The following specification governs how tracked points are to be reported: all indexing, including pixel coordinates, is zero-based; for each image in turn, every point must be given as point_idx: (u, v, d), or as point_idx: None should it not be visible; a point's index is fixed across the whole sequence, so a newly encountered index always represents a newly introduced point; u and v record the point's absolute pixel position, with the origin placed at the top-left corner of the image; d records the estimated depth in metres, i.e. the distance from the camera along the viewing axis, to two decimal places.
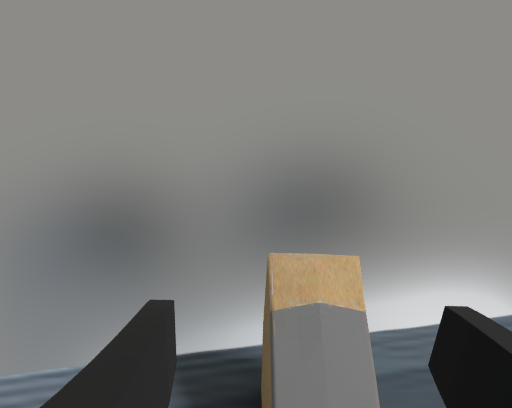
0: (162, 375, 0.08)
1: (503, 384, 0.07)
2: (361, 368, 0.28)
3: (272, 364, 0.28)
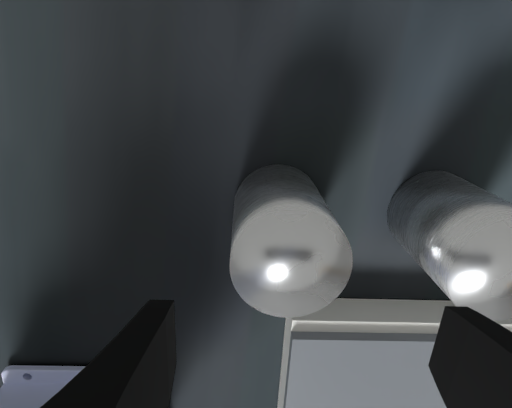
0: (162, 375, 0.08)
1: (503, 384, 0.07)
2: None
3: None
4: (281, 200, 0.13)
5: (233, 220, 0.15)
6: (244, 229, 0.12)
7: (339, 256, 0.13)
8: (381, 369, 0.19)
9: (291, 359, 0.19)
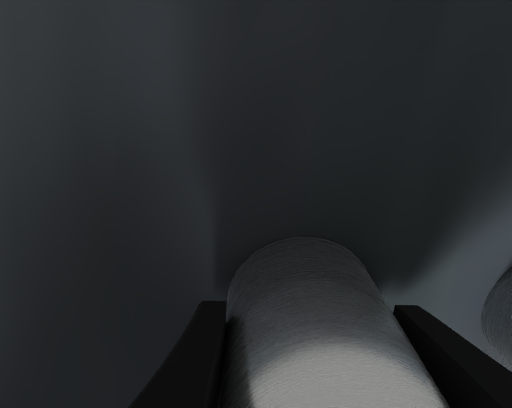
0: (221, 376, 0.08)
1: (440, 383, 0.07)
2: None
3: None
4: (334, 383, 0.05)
5: (223, 369, 0.08)
6: None
7: None
8: None
9: None
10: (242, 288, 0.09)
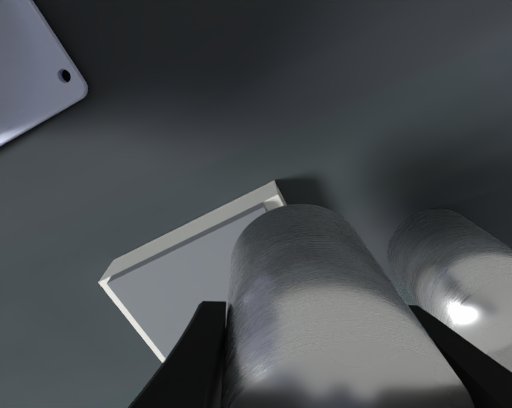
0: (221, 376, 0.08)
1: None
2: None
3: None
4: (332, 303, 0.06)
5: (229, 309, 0.09)
6: (256, 374, 0.06)
7: None
8: None
9: (235, 222, 0.15)
10: (247, 244, 0.10)
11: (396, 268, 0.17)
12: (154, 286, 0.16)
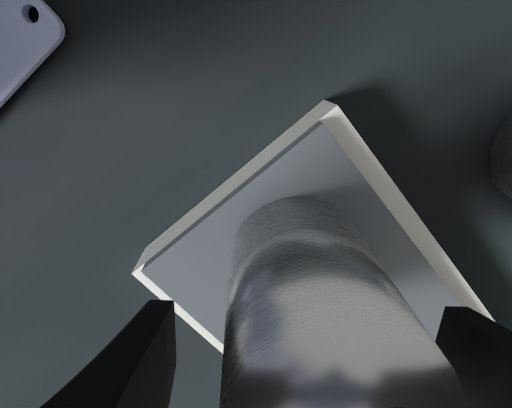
0: (162, 375, 0.08)
1: (503, 384, 0.07)
2: None
3: None
4: (331, 290, 0.07)
5: (230, 296, 0.09)
6: (257, 355, 0.06)
7: None
8: None
9: (289, 153, 0.11)
10: (247, 235, 0.10)
11: (510, 181, 0.13)
12: (201, 264, 0.12)
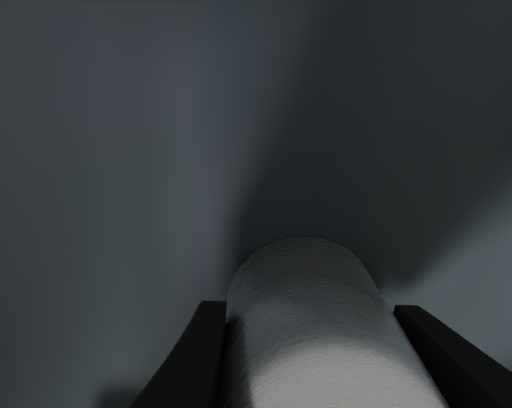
0: (221, 376, 0.08)
1: (440, 383, 0.07)
2: None
3: None
4: None
5: None
6: None
7: None
8: None
9: None
10: None
11: None
12: None
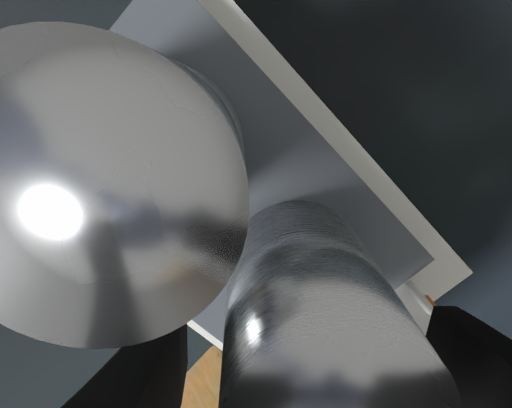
0: (176, 375, 0.08)
1: (489, 384, 0.07)
2: None
3: None
4: None
5: None
6: None
7: (196, 145, 0.04)
8: (248, 153, 0.11)
9: (131, 5, 0.09)
10: None
11: None
12: None
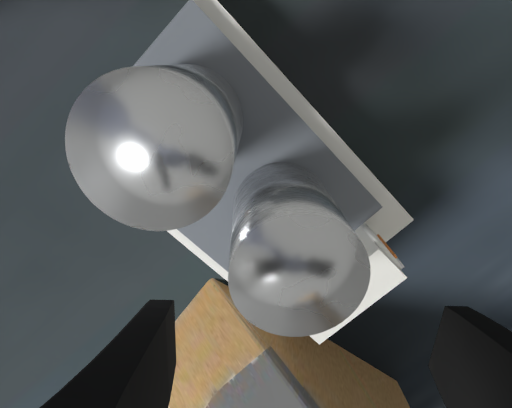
0: (162, 375, 0.08)
1: (503, 384, 0.07)
2: None
3: None
4: None
5: None
6: (68, 124, 0.09)
7: (203, 119, 0.09)
8: (247, 127, 0.15)
9: (169, 26, 0.14)
10: None
11: None
12: None
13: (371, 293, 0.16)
